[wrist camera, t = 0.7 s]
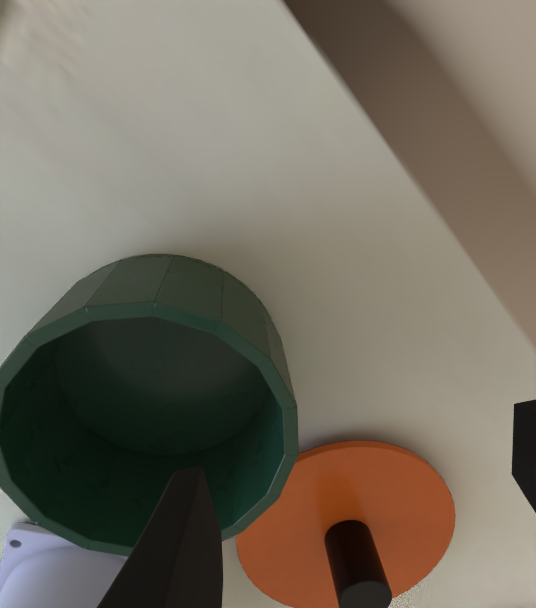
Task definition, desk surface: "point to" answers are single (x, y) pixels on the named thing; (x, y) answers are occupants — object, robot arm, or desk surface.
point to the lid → (350, 528)
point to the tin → (146, 402)
